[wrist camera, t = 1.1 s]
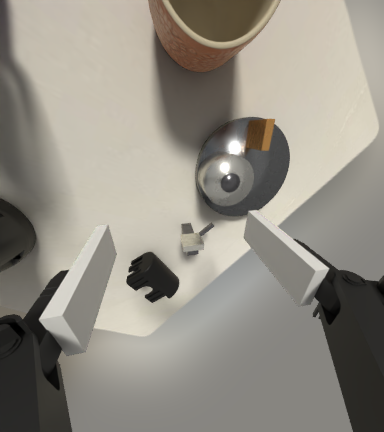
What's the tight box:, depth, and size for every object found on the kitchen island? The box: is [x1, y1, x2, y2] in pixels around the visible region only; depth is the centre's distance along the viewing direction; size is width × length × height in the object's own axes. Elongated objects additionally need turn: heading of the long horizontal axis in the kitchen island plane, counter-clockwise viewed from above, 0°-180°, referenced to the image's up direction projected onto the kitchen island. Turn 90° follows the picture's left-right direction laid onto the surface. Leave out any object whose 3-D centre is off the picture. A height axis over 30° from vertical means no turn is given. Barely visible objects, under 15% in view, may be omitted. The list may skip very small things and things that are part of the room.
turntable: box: [195, 117, 290, 216], centre depth 29 cm, size 18×18×7 cm
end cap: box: [126, 252, 179, 303], centre depth 37 cm, size 10×7×7 cm
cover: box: [198, 151, 254, 206], centre depth 27 cm, size 8×8×5 cm
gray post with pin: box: [181, 223, 214, 255], centre depth 32 cm, size 6×5×9 cm
